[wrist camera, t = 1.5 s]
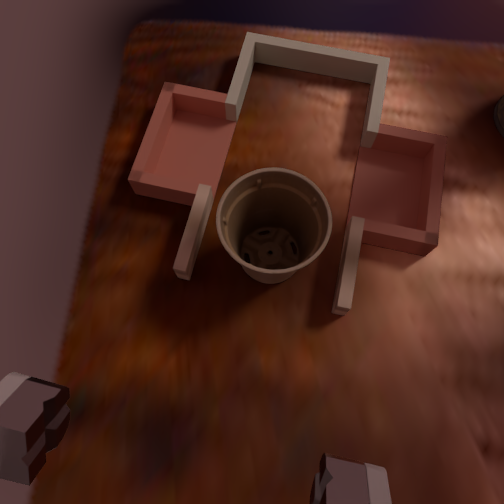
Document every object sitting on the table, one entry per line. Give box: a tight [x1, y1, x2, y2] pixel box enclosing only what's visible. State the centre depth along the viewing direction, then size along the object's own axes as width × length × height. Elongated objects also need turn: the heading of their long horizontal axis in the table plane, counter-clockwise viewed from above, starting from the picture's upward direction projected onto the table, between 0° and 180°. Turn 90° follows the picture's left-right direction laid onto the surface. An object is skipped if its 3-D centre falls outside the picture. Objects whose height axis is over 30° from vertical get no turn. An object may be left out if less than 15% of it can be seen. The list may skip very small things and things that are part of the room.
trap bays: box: [128, 82, 447, 256], centre depth 44 cm, size 12×30×3 cm, turn 77°
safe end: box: [225, 32, 390, 148], centre depth 47 cm, size 10×16×3 cm, turn 77°
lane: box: [173, 184, 365, 316], centre depth 40 cm, size 9×16×3 cm, turn 77°
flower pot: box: [216, 168, 332, 284], centre depth 38 cm, size 9×9×9 cm
